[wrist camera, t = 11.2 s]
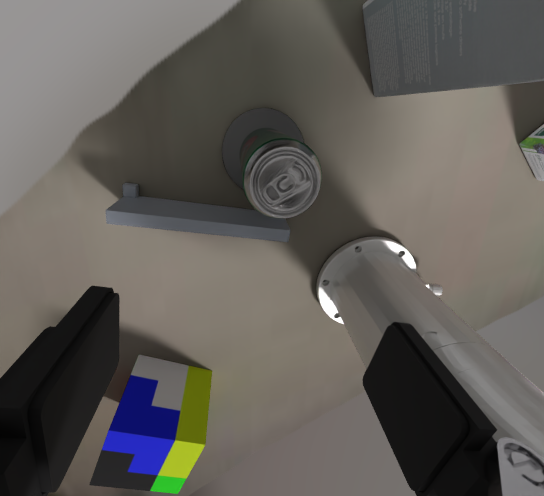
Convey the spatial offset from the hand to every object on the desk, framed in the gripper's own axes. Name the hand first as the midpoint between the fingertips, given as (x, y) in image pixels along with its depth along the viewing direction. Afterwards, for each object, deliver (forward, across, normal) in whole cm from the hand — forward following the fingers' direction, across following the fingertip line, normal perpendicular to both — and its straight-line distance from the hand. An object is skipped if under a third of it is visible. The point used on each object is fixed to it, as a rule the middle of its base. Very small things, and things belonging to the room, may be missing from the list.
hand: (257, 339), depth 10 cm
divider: (+22, +4, +3) cm, 22 cm away
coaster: (+22, -1, -4) cm, 22 cm away
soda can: (+21, -1, -4) cm, 22 cm away
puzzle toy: (+22, +6, +30) cm, 38 cm away
